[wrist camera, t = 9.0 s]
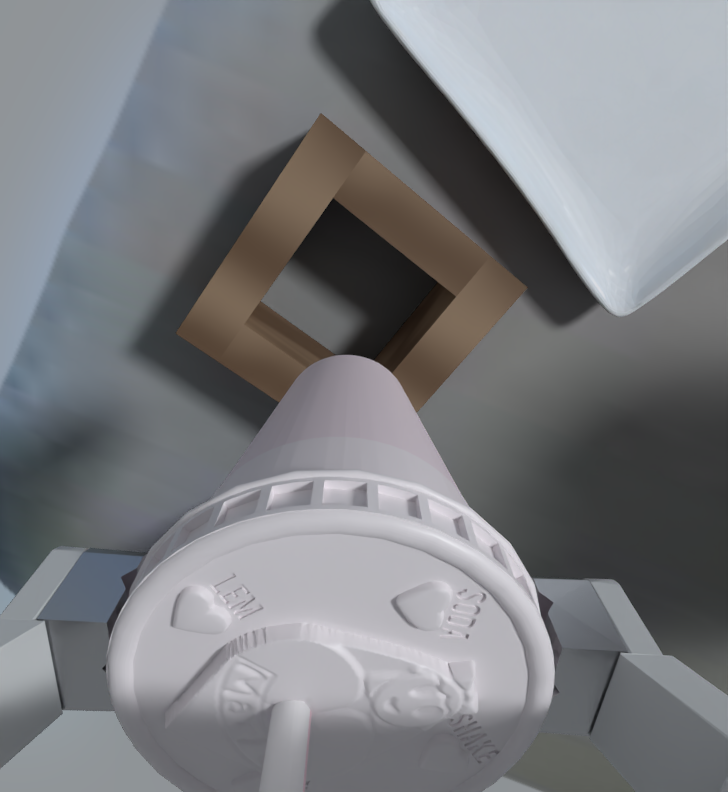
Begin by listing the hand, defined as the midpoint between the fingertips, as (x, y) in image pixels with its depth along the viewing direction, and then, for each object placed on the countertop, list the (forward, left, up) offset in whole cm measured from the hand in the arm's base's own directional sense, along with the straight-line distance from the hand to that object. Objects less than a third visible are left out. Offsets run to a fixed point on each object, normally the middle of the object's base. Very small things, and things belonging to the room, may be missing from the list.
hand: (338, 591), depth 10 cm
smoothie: (0, 0, -8) cm, 8 cm away
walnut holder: (0, 0, -25) cm, 25 cm away
